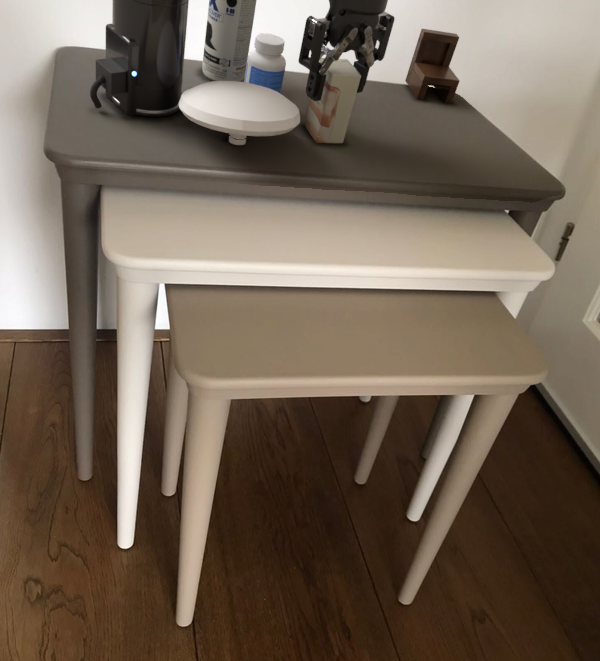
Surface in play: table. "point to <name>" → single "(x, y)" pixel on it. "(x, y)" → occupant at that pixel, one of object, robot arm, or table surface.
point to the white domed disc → (239, 109)
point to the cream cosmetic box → (334, 103)
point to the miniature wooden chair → (433, 65)
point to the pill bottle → (266, 62)
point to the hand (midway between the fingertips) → (334, 94)
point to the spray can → (228, 39)
